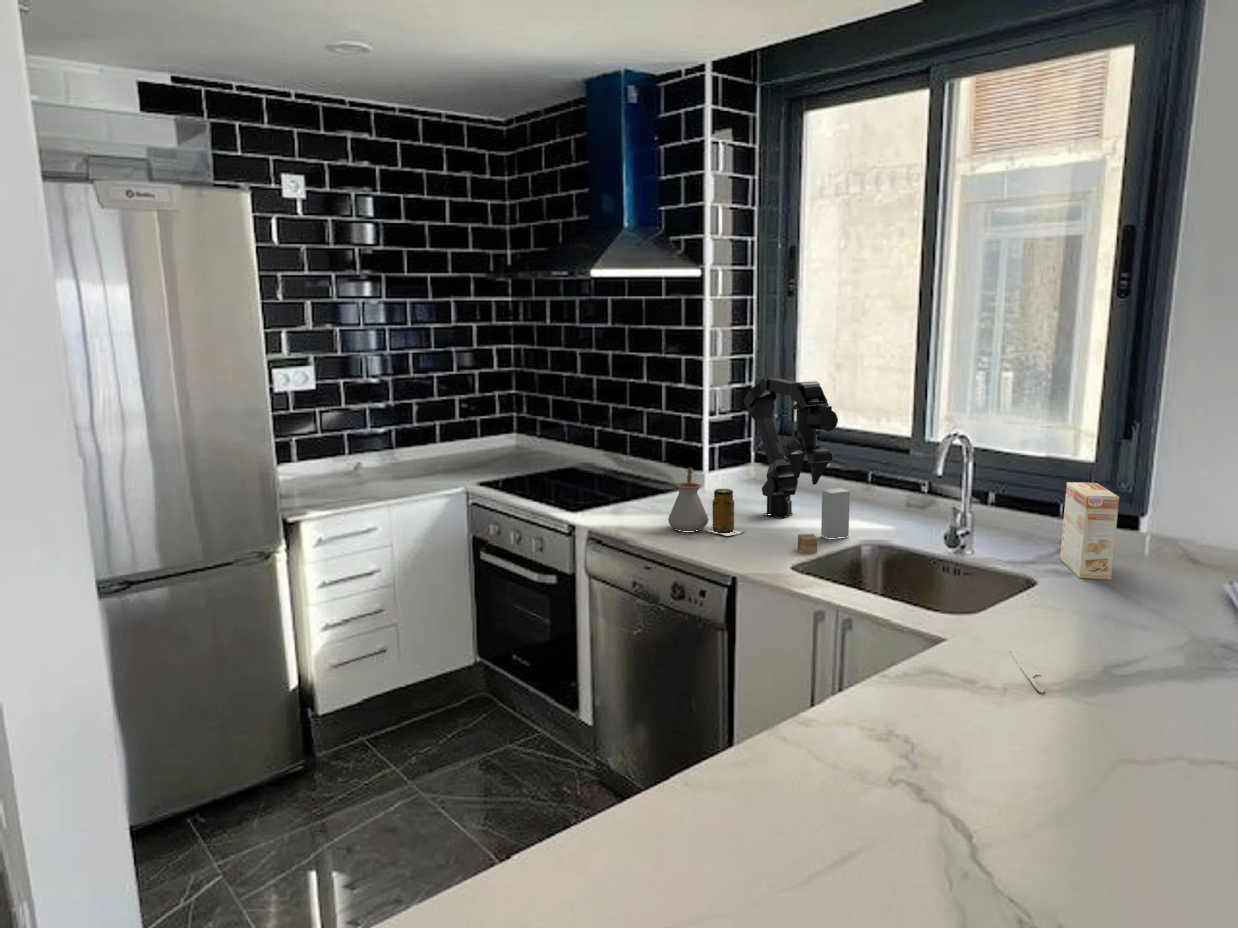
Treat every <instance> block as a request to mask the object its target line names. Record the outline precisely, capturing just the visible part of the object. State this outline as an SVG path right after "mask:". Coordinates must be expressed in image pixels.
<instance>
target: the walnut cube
mask: <svg viewBox="0 0 1238 928" xmlns="http://www.w3.org/2000/svg"><path fill="white" fill-rule="evenodd" d="M798 548H799V550H800V551H801V552H800V551H799V550H798V551H799V552H800V554H818V537H817V536H816V535H815V534H814V533H802V534H800V533H799V534H797V549H798Z"/></svg>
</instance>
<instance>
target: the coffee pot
mask: <svg viewBox="0 0 1238 928" xmlns="http://www.w3.org/2000/svg"><path fill="white" fill-rule="evenodd" d="M692 470H693V471H692ZM686 472H687V476H686V477H687V478H686V479H687V482H682V483H678V484H676V487H677V489H678V492H679V493H678V495H677V496H676V498H675V499H676V500H675V502H674V504H673V506H672V508H671V511H670V513H669V516H668V518H667V520H668V523H669V525H670V526H671V527H672V528H673V529H674V530H675V529H677V530H681V531H696V530H700V529H702V530H703V528H705V527H706V526H707V525H708V523H709V519H710V518H709V517H708V514H707V512H706V510H705V508H704V506H703V505H704V504H703V503H702V500H701V498H700V496H699V494H698V491H699V490H700V488H701V484H699V483H695V482H692V477H693V476H692V473H694V472H695V469H694V468H693V467H691V466H690V467H688V468H687V469H686Z"/></svg>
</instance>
